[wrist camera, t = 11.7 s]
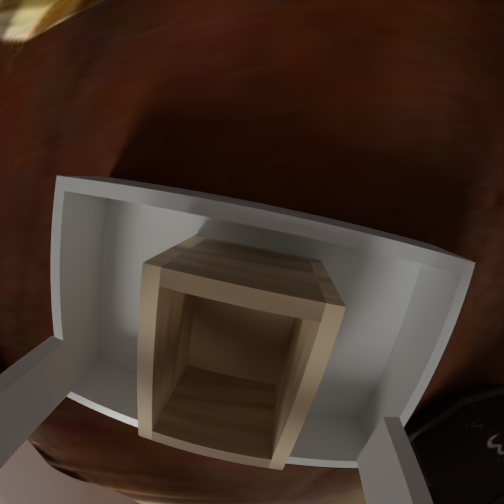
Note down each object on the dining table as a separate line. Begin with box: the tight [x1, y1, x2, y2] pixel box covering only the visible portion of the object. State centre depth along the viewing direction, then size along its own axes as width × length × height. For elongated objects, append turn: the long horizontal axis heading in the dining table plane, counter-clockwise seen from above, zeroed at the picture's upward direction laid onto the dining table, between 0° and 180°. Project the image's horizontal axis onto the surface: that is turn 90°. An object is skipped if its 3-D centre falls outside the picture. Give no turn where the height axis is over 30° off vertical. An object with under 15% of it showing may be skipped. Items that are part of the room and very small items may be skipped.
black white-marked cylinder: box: [404, 383, 504, 504], centre depth 15 cm, size 18×18×16 cm
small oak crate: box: [137, 234, 346, 470], centre depth 16 cm, size 10×8×8 cm
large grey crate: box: [51, 176, 475, 468], centre depth 18 cm, size 16×24×6 cm, turn 79°
